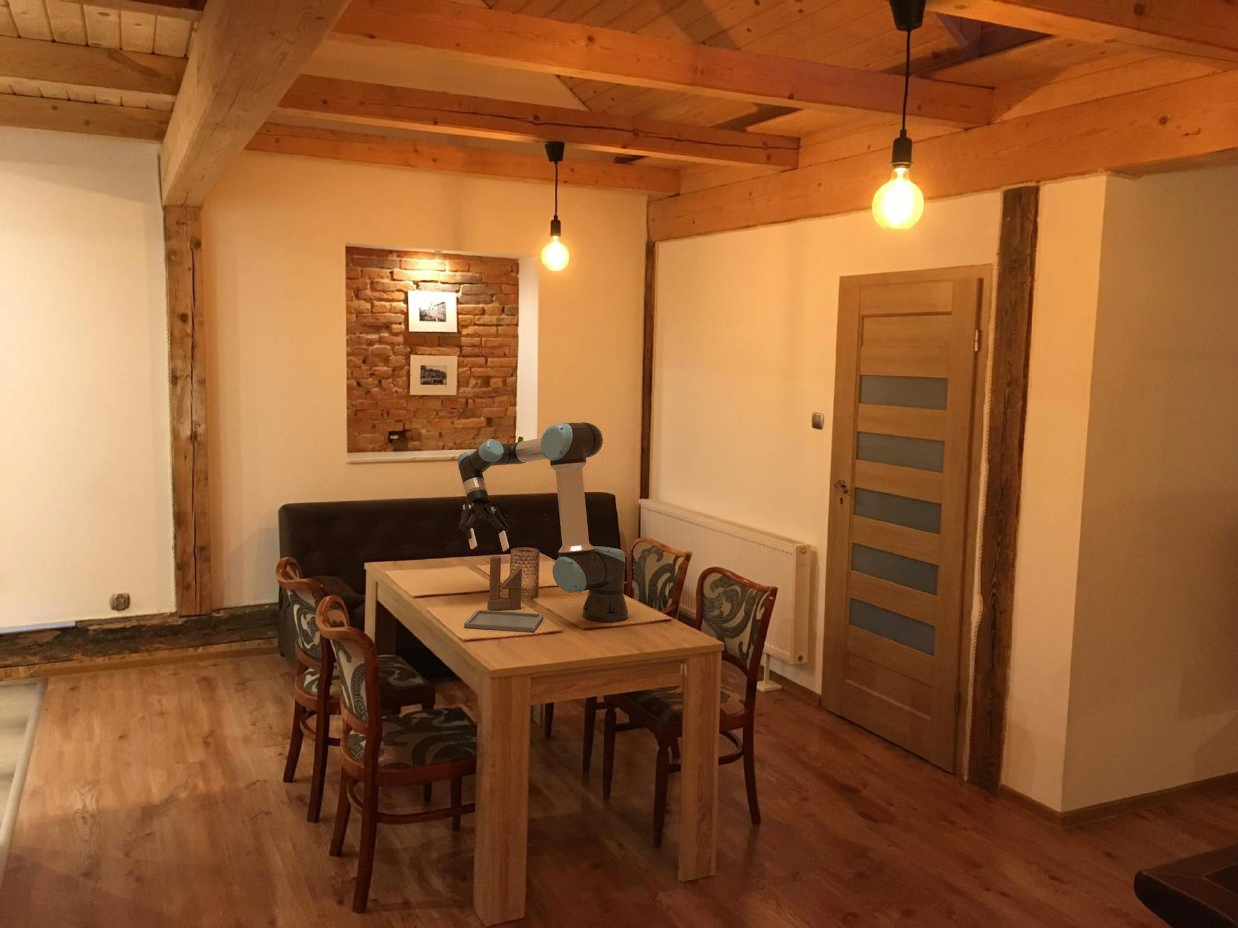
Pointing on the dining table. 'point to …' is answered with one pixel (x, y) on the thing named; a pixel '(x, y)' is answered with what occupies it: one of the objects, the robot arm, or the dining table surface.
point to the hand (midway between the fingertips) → (490, 548)
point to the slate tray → (504, 621)
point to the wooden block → (504, 587)
